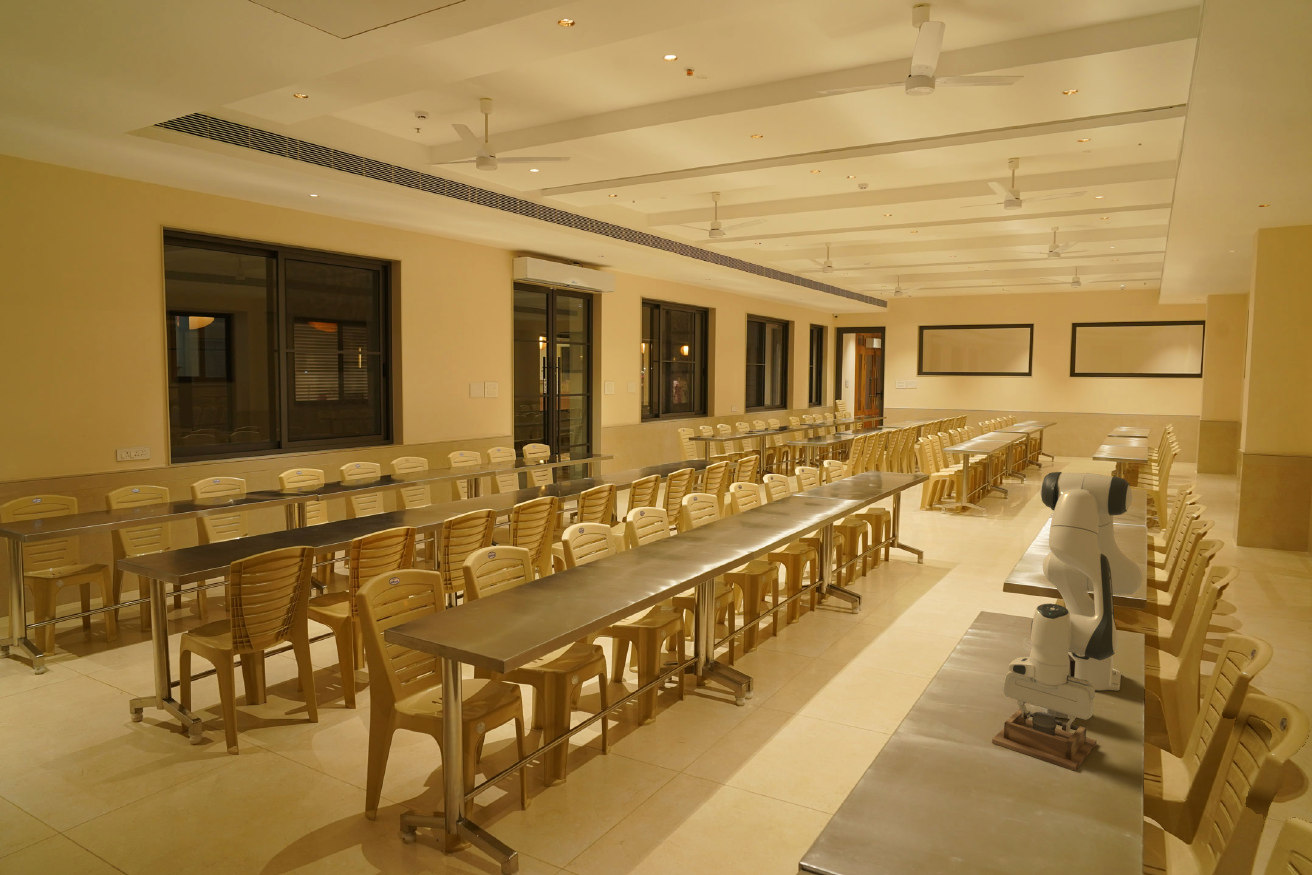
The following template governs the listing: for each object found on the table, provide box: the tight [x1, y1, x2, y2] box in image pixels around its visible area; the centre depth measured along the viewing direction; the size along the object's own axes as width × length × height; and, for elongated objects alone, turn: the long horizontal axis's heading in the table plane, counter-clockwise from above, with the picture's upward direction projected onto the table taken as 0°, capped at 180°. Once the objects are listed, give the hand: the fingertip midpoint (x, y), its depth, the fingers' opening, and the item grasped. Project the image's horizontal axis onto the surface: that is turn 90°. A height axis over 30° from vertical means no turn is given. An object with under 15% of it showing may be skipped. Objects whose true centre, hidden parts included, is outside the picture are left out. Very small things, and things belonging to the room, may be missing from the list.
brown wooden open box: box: [991, 708, 1097, 772], centre depth 192 cm, size 18×19×5 cm
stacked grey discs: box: [1031, 711, 1057, 736], centre depth 192 cm, size 5×5×6 cm
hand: (1045, 723), depth 192 cm, fingers open, 8 cm apart
